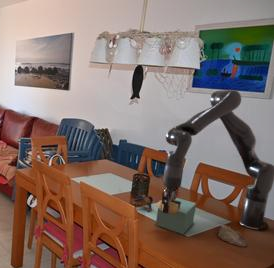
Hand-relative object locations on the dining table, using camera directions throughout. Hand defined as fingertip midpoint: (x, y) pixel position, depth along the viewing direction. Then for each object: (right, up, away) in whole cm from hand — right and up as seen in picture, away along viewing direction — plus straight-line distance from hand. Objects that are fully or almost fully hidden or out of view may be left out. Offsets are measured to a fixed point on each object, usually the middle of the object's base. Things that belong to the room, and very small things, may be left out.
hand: (167, 210), depth 149 cm
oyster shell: (+30, -13, +1) cm, 33 cm away
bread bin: (+9, -10, +13) cm, 19 cm away
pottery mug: (0, -6, +31) cm, 32 cm away
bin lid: (+9, 0, +11) cm, 15 cm away
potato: (0, -1, 0) cm, 1 cm away
